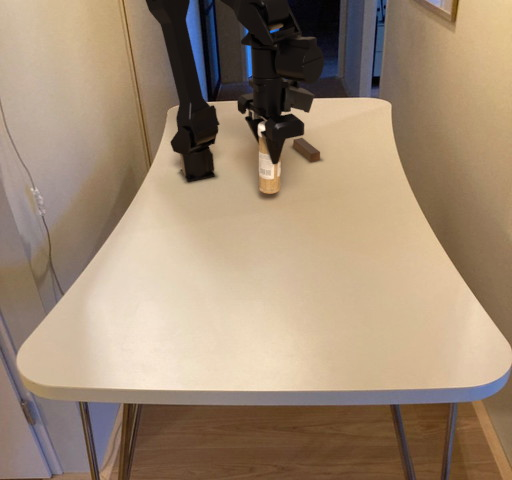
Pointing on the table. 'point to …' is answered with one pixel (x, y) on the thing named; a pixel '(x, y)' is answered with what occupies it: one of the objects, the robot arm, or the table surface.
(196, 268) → the table surface
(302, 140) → the walnut rail
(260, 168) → the spice jar
